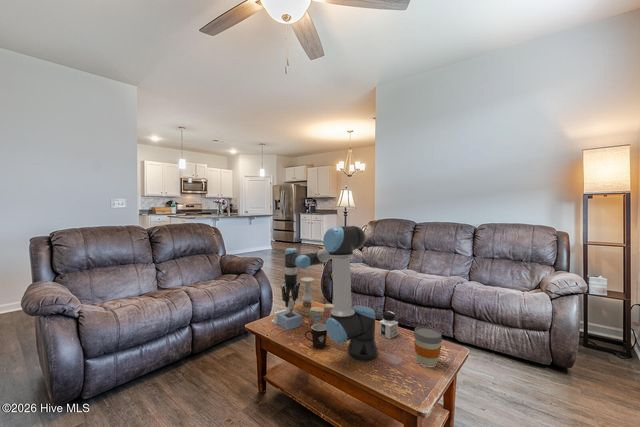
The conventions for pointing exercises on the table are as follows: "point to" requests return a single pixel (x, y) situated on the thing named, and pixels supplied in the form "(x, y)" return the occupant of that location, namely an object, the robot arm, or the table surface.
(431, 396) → the table surface
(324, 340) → the coffee mug
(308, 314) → the candle holder
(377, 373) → the table surface
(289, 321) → the block
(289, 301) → the dowel
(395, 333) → the container
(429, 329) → the reusable coffee cup
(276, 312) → the wall
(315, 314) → the stack of blocks
